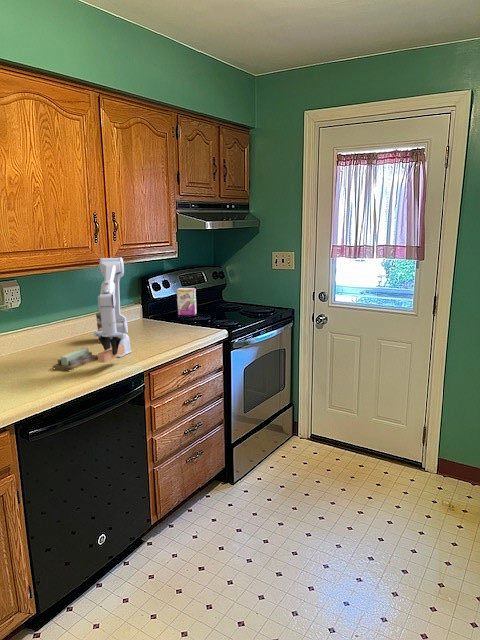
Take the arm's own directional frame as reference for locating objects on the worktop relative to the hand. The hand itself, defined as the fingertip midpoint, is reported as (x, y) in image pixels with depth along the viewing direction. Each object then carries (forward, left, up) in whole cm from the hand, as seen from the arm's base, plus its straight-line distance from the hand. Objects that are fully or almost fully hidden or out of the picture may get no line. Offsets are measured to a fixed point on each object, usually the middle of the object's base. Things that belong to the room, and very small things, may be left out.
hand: (111, 353), depth 203 cm
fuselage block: (+1, -18, -4) cm, 19 cm away
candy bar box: (-101, -17, -6) cm, 103 cm away
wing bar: (0, 0, -2) cm, 2 cm away
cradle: (+1, -18, -6) cm, 19 cm away
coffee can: (-36, -28, -6) cm, 46 cm away
